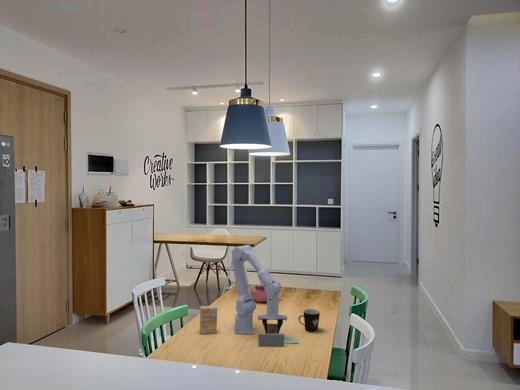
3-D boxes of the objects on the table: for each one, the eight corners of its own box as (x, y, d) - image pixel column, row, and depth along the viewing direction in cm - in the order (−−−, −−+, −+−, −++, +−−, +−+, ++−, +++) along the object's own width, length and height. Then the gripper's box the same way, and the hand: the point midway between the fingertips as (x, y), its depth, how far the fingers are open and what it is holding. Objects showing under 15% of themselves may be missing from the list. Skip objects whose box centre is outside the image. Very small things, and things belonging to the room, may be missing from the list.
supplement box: (200, 334, 197) (201, 308, 197) (199, 331, 202) (200, 305, 202) (216, 333, 199) (217, 307, 199) (215, 330, 204) (216, 305, 204)
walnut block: (267, 339, 191) (267, 326, 191) (266, 335, 196) (266, 323, 196) (277, 339, 191) (277, 326, 191) (276, 335, 196) (276, 323, 196)
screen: (258, 346, 184) (258, 334, 184) (258, 345, 185) (258, 333, 185) (284, 346, 184) (284, 334, 184) (283, 345, 185) (284, 333, 185)
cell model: (244, 299, 264) (244, 282, 264) (271, 296, 272) (271, 280, 272) (254, 306, 249) (255, 288, 249) (282, 303, 257) (283, 285, 257)
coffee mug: (317, 327, 211) (318, 309, 211) (321, 333, 202) (321, 314, 202) (296, 327, 210) (296, 308, 210) (298, 333, 202) (298, 313, 202)
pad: (284, 343, 187) (284, 342, 187) (283, 338, 194) (283, 337, 194) (299, 344, 188) (299, 342, 188) (297, 338, 195) (297, 337, 195)
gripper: (258, 309, 189) (257, 337, 189) (288, 309, 190) (287, 337, 190) (257, 305, 196) (257, 332, 196) (286, 305, 197) (286, 332, 197)
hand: (271, 334), depth 194 cm, fingers closed on walnut block, 5 cm apart
